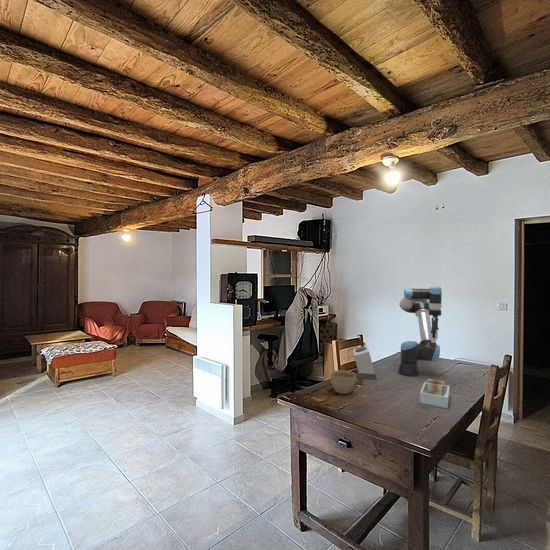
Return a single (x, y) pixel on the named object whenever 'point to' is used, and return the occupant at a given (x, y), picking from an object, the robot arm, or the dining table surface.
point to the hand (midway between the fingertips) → (434, 340)
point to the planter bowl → (343, 381)
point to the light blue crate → (434, 397)
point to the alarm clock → (364, 364)
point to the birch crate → (435, 387)
